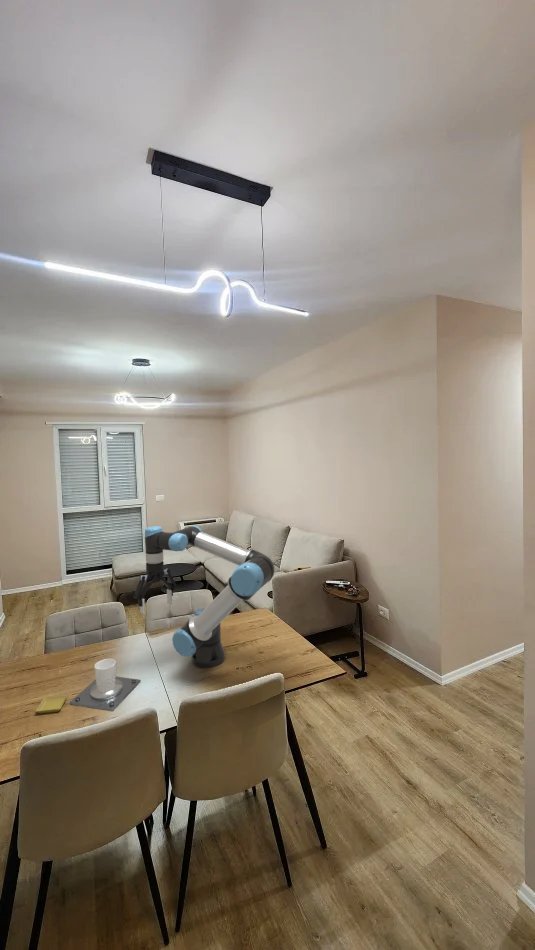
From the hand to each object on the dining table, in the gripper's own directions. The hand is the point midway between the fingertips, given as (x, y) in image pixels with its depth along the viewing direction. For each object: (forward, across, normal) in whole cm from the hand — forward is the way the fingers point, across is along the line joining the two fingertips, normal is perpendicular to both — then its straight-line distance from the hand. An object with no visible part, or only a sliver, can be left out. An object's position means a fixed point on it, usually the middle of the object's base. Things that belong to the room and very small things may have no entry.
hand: (156, 608), depth 175 cm
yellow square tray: (+27, +42, -6) cm, 51 cm away
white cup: (+25, +25, +1) cm, 35 cm away
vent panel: (+27, +24, +1) cm, 36 cm away
